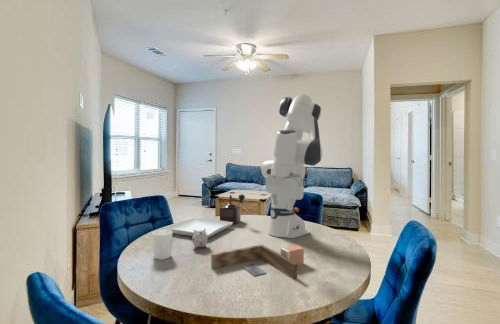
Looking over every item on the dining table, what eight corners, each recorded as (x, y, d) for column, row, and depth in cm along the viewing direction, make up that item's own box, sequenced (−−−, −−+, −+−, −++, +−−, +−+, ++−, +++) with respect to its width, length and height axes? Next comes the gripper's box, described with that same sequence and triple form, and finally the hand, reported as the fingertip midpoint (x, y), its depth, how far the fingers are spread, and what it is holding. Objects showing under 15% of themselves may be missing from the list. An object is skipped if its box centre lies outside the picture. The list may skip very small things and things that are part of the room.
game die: (202, 257, 123) (204, 243, 117) (185, 248, 124) (187, 235, 118) (211, 242, 130) (214, 228, 124) (195, 234, 131) (197, 220, 125)
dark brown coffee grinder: (218, 223, 165) (218, 193, 164) (225, 219, 176) (225, 191, 175) (243, 225, 161) (243, 195, 160) (248, 221, 171) (249, 192, 171)
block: (296, 260, 111) (297, 245, 110) (303, 263, 107) (303, 248, 107) (280, 263, 107) (280, 248, 107) (287, 267, 103) (287, 251, 103)
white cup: (176, 254, 115) (176, 230, 115) (164, 261, 108) (164, 236, 108) (160, 252, 118) (160, 228, 118) (148, 258, 110) (148, 233, 110)
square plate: (234, 228, 157) (234, 221, 157) (207, 242, 132) (207, 234, 132) (194, 222, 168) (194, 216, 168) (162, 234, 143) (162, 227, 143)
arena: (262, 256, 114) (262, 244, 114) (297, 278, 95) (297, 263, 95) (211, 267, 103) (211, 253, 103) (239, 294, 84) (239, 278, 83)
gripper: (308, 174, 99) (306, 212, 99) (276, 170, 117) (274, 202, 117) (294, 174, 96) (292, 213, 96) (263, 169, 114) (261, 203, 114)
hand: (282, 207), depth 107 cm, fingers open, 8 cm apart
